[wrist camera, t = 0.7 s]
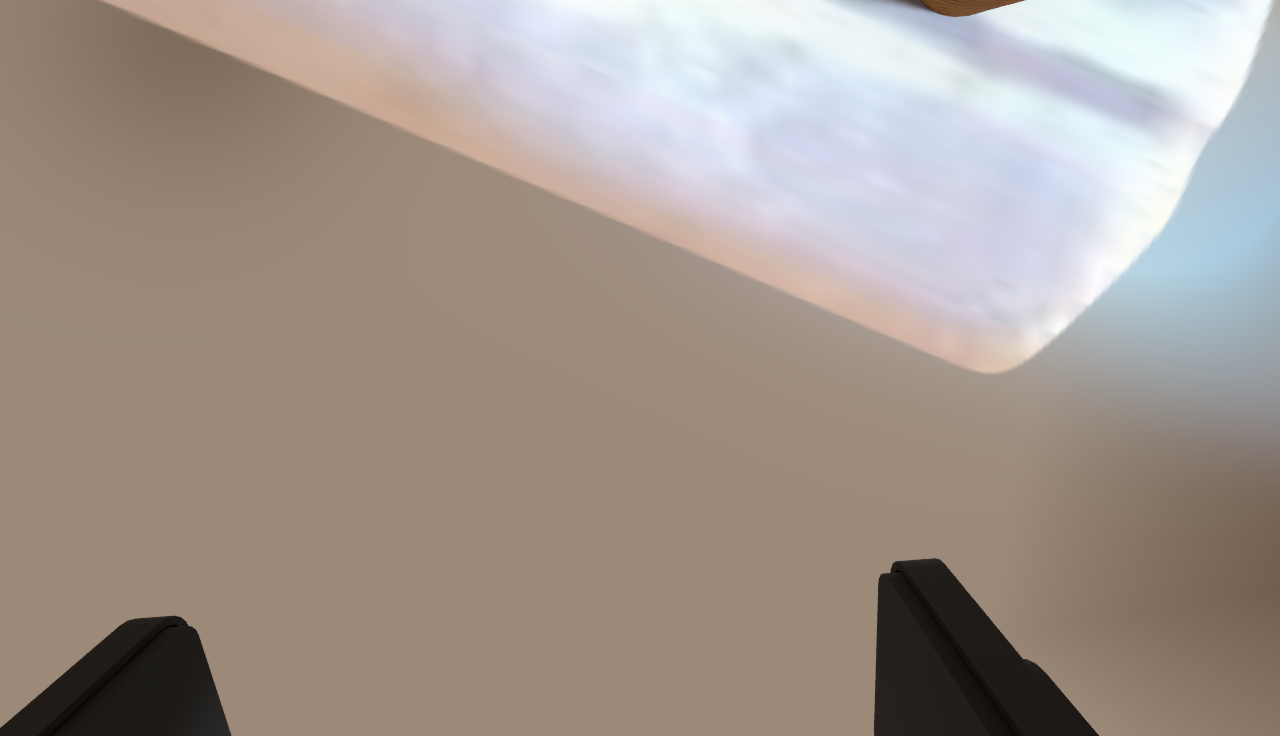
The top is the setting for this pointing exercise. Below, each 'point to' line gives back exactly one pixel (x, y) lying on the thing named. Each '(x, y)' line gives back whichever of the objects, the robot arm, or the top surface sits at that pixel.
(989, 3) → the disposable coffee cup
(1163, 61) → the top surface
